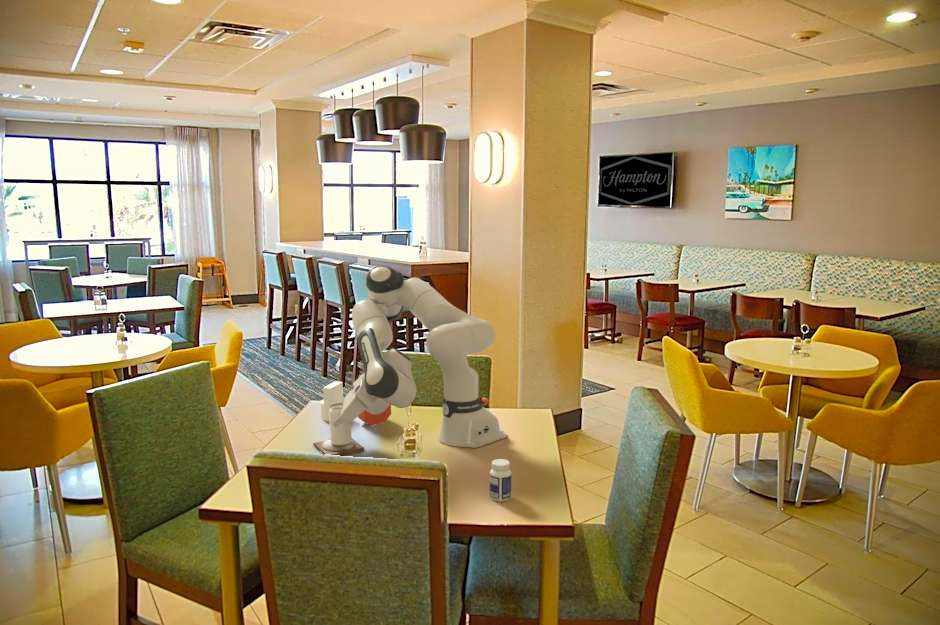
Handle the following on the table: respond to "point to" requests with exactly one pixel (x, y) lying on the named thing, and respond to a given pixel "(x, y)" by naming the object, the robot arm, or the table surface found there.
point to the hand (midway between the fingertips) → (335, 420)
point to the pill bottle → (500, 480)
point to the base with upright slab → (331, 398)
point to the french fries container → (376, 412)
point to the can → (339, 427)
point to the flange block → (338, 448)
